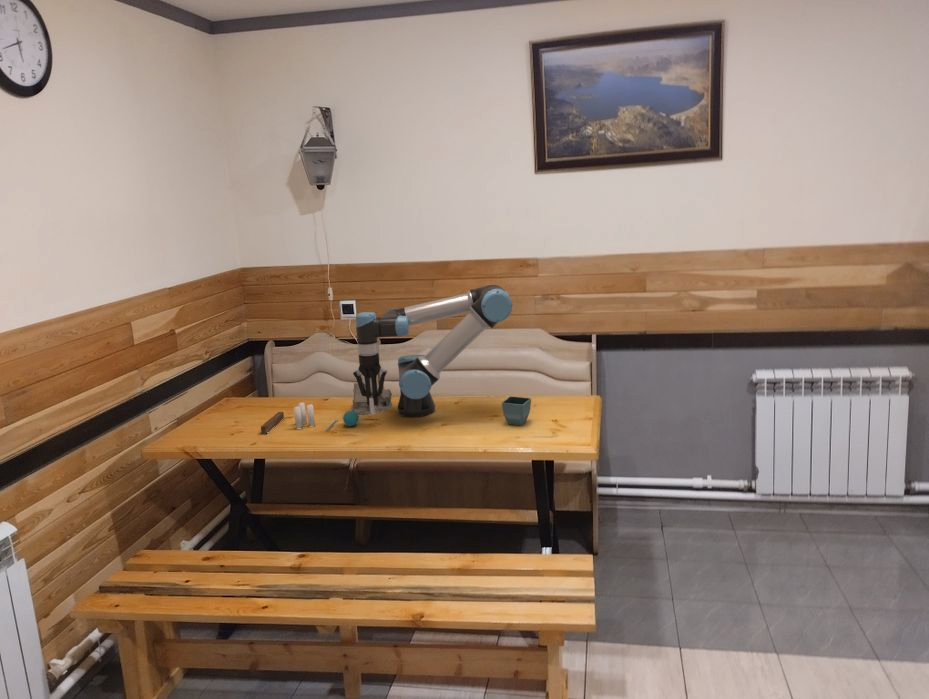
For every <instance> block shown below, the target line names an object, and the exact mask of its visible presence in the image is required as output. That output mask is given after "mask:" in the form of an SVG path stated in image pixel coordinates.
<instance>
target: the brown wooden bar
mask: <svg viewBox="0 0 929 699" xmlns="http://www.w3.org/2000/svg"><path fill="white" fill-rule="evenodd" d="M283 418H284V419H285V414H284V411H278V412H277V413H275V414H274V415H273V416H271V417H270V418H269V419H268V420H267V421H266V422H264V424H262V425H261V426H260V431H261V435H267V434H268V433H267V432H269V431H270V430H271V429H272V428H273V427H274V426H275V427H276V425H277V424H278V423H279V422H280V421H281V420H282V419H283ZM284 419H283V420H284ZM283 420H282V421H283ZM282 421H281V422H282ZM281 422H280V423H281ZM280 423H279V424H280ZM279 424H278V425H279ZM278 425H277V426H278ZM275 427H274V428H275ZM274 428H273V429H274ZM273 429H272V430H273ZM272 430H271V431H272ZM271 431H270V432H271ZM270 432H269V433H270ZM266 433H267V434H266Z"/></svg>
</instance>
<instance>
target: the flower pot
mask: <svg viewBox="0 0 929 699" xmlns="http://www.w3.org/2000/svg"><path fill="white" fill-rule="evenodd" d="M531 405H532V397H522V396H513V395H512V396H509V397H507V398H506V399H505V400H503V401H502V402H501V408H502V414H503V417H504V419H505V421H506V423H508V425H512V424H516V425H515V426H523V424H524V423H526V422H527V420H528V418H529V415H530V412H531Z"/></svg>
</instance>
